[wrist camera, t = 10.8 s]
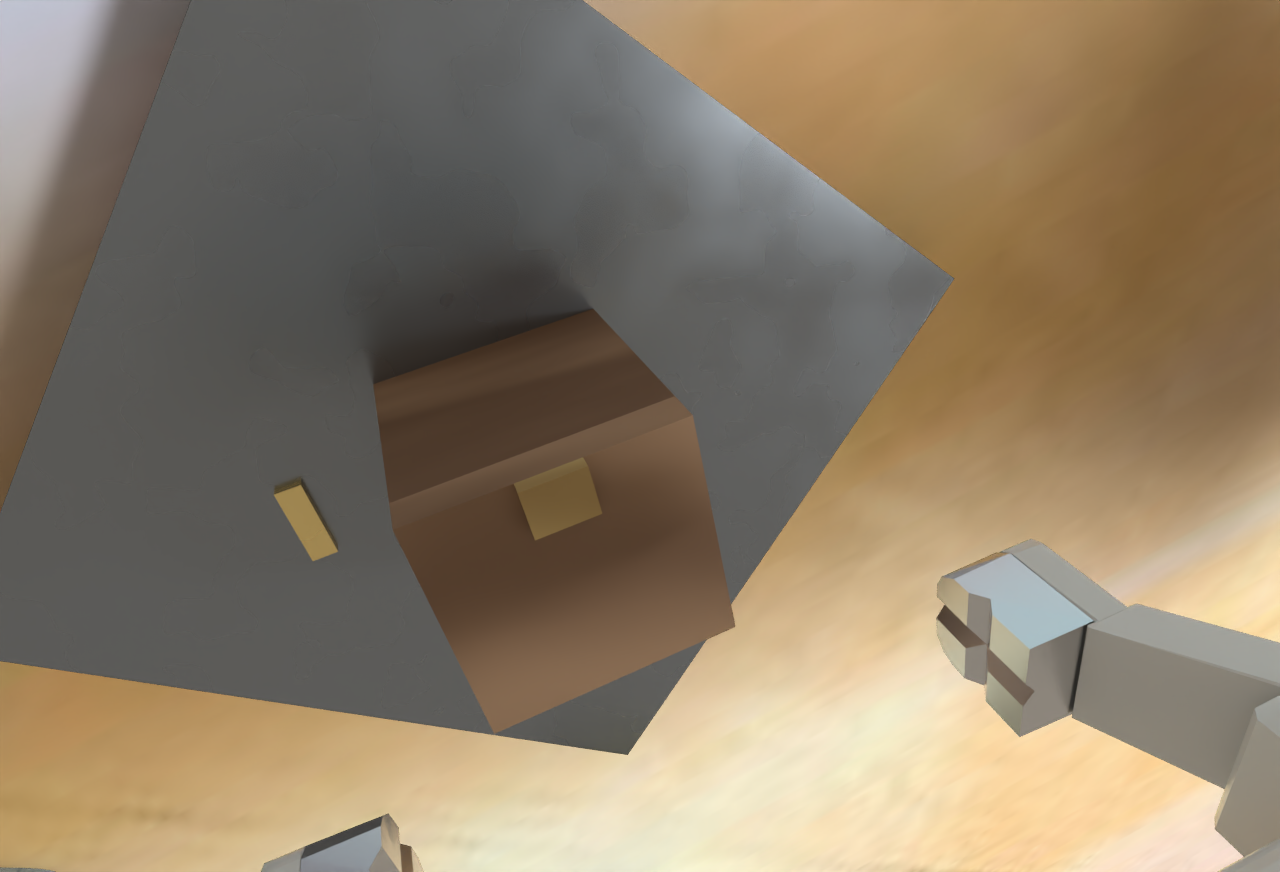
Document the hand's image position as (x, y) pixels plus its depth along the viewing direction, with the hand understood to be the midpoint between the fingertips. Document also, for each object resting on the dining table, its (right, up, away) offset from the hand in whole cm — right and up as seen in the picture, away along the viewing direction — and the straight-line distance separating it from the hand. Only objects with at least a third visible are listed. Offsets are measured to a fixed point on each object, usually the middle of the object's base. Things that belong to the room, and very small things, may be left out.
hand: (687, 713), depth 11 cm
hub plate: (-4, +4, +9) cm, 11 cm away
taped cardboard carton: (-4, +4, +8) cm, 10 cm away
